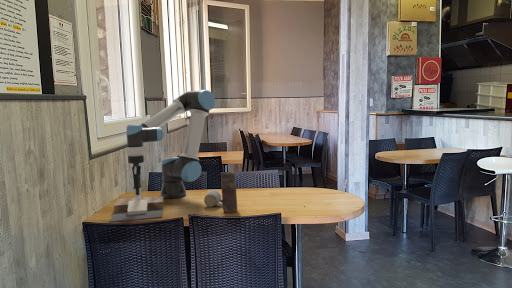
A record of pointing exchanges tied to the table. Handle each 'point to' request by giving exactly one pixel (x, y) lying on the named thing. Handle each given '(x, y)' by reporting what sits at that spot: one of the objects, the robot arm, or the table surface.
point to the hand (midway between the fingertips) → (138, 200)
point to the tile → (137, 207)
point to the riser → (153, 201)
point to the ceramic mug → (213, 199)
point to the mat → (136, 215)
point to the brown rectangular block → (229, 192)
